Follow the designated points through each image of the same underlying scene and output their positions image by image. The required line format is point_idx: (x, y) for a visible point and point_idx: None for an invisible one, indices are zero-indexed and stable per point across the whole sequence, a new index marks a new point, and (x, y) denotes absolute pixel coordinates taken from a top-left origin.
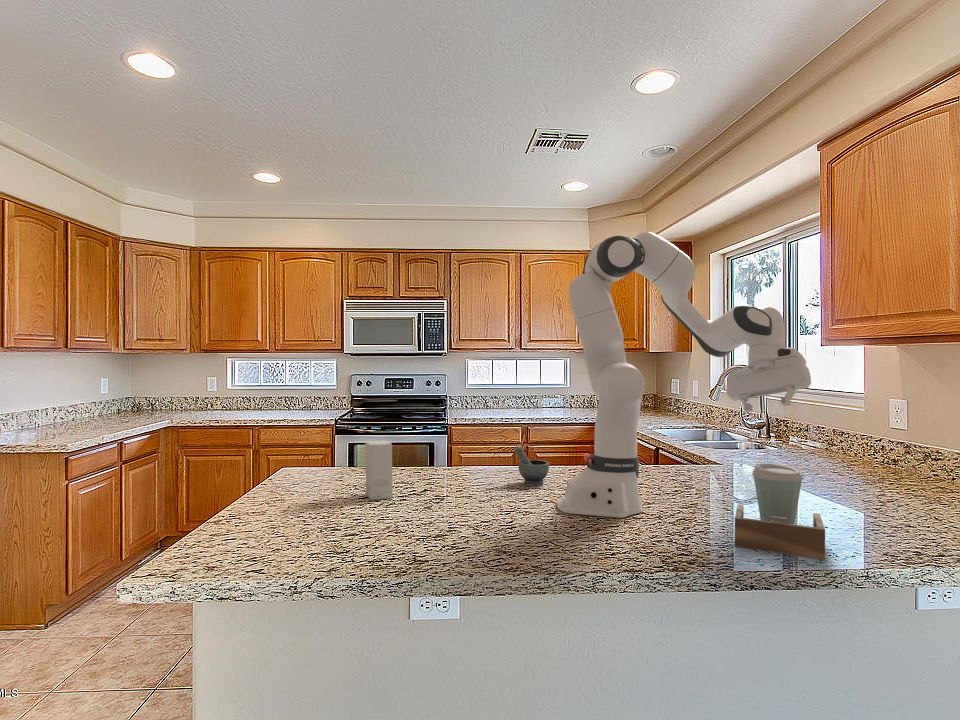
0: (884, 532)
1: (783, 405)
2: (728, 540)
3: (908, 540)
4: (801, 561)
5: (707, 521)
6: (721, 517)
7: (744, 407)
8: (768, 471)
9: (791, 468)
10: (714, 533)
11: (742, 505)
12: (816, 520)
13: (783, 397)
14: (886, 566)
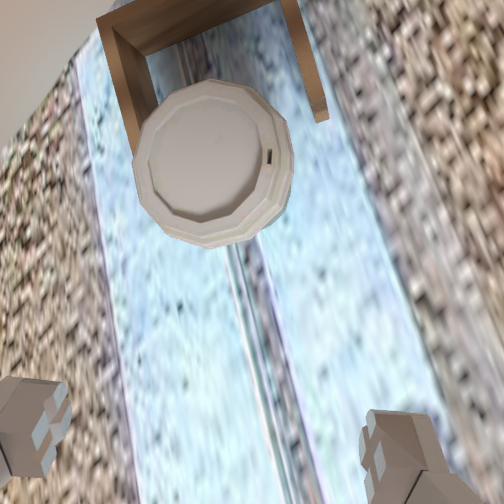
0: (83, 354)
1: (66, 398)
2: (314, 12)
3: (44, 321)
4: None
5: (420, 131)
6: (405, 202)
7: (424, 427)
8: (212, 82)
9: (169, 212)
10: (361, 38)
11: (308, 89)
12: (126, 89)
13: (8, 429)
14: (50, 105)
